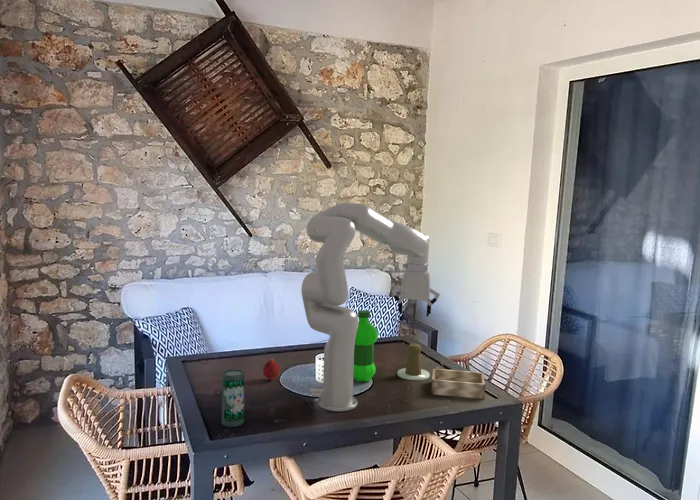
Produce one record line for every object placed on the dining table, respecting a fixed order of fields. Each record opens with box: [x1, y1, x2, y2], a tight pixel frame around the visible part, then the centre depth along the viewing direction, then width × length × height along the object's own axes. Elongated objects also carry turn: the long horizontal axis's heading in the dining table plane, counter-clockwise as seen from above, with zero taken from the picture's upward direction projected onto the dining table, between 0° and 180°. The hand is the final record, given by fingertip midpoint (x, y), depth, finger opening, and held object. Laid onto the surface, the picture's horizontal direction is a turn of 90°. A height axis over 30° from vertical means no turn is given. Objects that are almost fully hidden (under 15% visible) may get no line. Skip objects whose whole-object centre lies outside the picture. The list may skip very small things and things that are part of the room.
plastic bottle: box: [353, 309, 379, 382], centre depth 207 cm, size 10×10×25 cm
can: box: [221, 368, 245, 428], centre depth 168 cm, size 6×6×15 cm
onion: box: [262, 358, 281, 381], centre depth 205 cm, size 6×6×8 cm
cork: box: [405, 343, 422, 376], centre depth 215 cm, size 6×6×11 cm
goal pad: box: [396, 367, 431, 382], centre depth 216 cm, size 12×12×1 cm
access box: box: [430, 368, 486, 400], centre depth 201 cm, size 18×13×5 cm
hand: (414, 314), depth 210 cm, fingers open, 9 cm apart
